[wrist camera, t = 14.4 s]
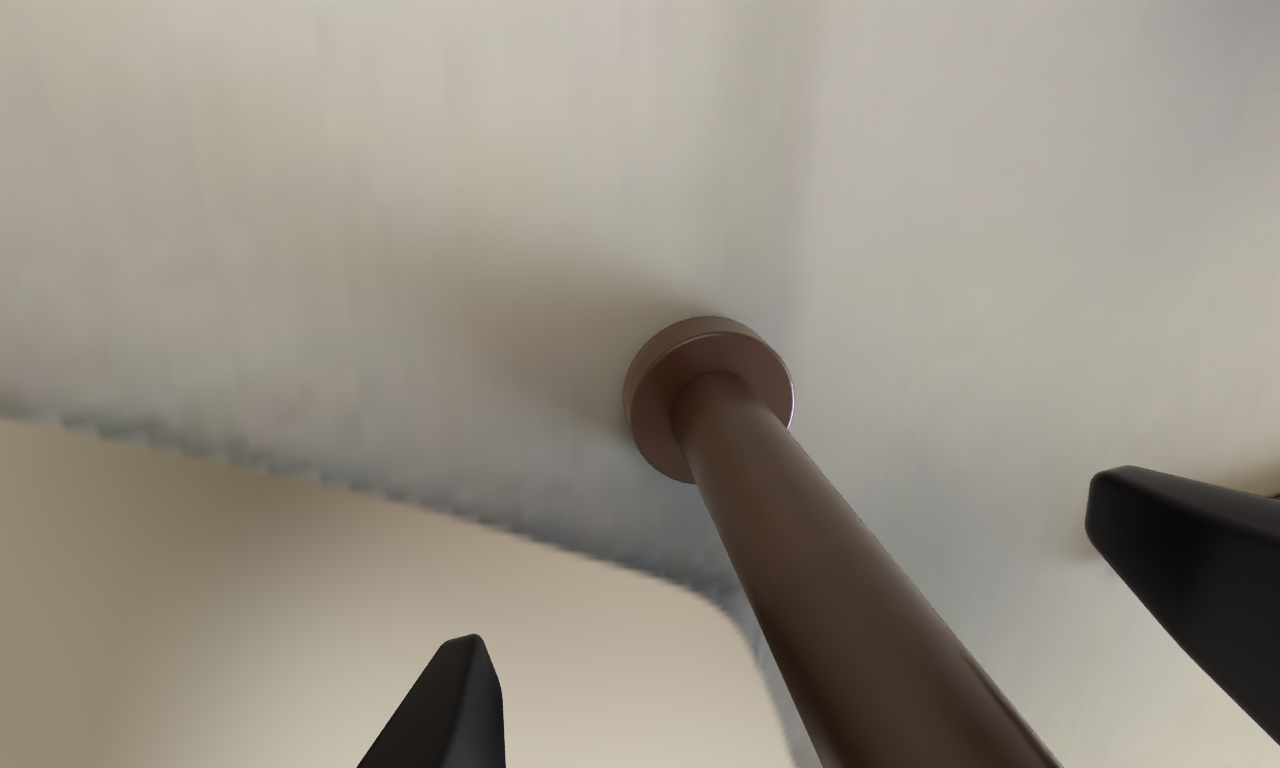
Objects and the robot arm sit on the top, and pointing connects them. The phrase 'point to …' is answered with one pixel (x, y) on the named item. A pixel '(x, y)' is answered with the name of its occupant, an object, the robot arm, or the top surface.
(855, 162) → the top surface
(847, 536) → the muddler
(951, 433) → the top surface
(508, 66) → the top surface
